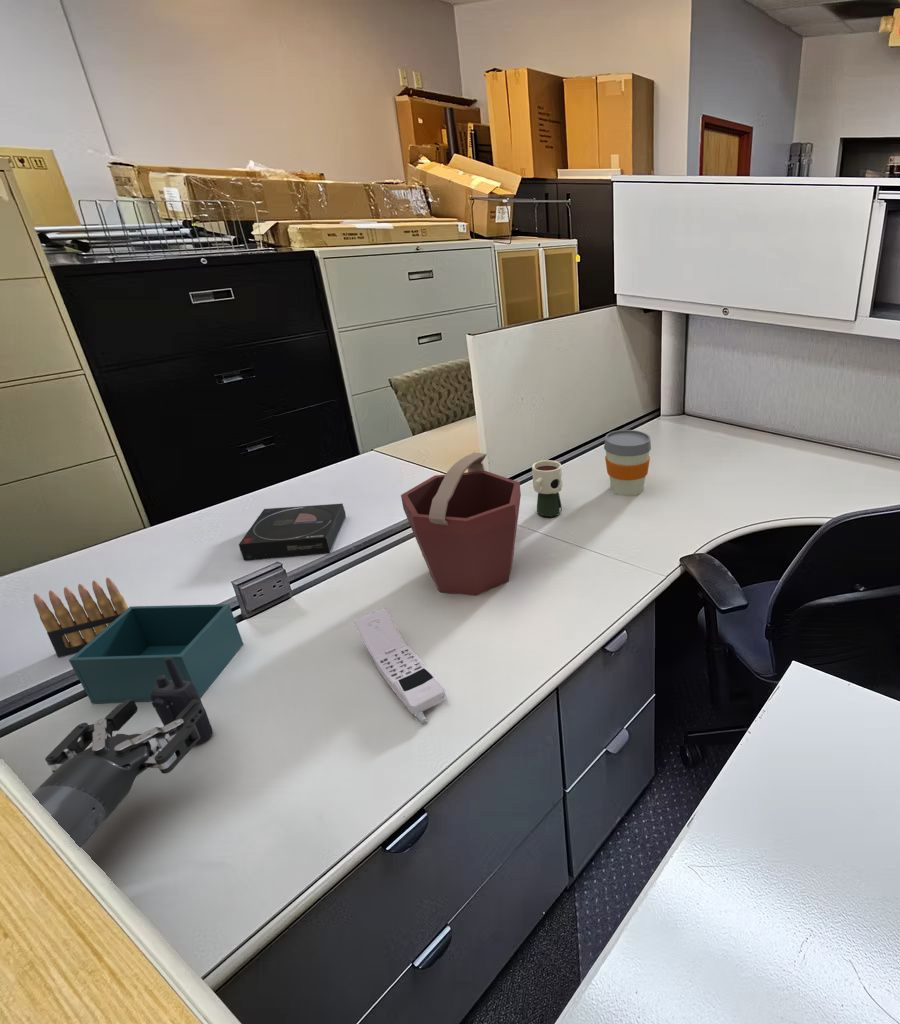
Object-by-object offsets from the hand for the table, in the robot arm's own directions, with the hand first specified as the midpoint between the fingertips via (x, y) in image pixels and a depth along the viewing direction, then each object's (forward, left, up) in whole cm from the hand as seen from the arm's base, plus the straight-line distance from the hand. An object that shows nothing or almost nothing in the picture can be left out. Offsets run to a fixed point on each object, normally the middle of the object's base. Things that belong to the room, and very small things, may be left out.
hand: (165, 703), depth 84 cm
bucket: (+32, +44, -9) cm, 55 cm away
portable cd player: (-10, +60, -9) cm, 62 cm away
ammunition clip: (-27, +24, -9) cm, 37 cm away
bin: (-11, +16, -8) cm, 21 cm away
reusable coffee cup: (+65, +85, -9) cm, 107 cm away
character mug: (+45, +71, -9) cm, 85 cm away
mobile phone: (+26, +13, -9) cm, 30 cm away
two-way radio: (0, +1, -9) cm, 9 cm away
